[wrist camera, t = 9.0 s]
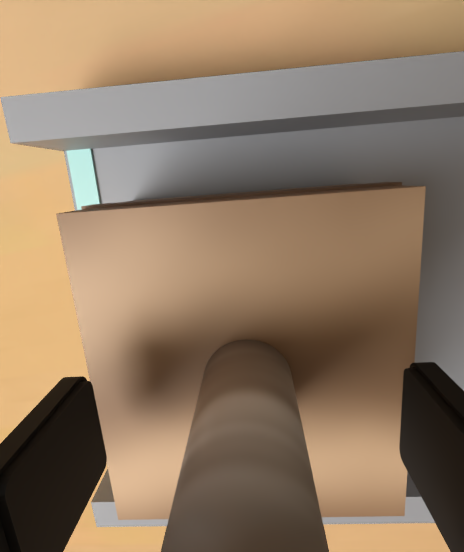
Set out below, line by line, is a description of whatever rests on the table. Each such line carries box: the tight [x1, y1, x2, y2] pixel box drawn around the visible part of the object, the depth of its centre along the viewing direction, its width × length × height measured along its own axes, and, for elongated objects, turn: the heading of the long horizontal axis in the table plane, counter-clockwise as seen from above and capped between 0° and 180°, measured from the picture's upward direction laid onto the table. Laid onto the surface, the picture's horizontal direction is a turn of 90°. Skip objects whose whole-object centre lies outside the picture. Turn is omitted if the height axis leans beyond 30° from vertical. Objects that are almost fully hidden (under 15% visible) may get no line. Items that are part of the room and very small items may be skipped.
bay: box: [0, 51, 464, 527], centre depth 17 cm, size 20×30×6 cm
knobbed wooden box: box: [56, 182, 426, 552], centre depth 13 cm, size 12×11×13 cm
